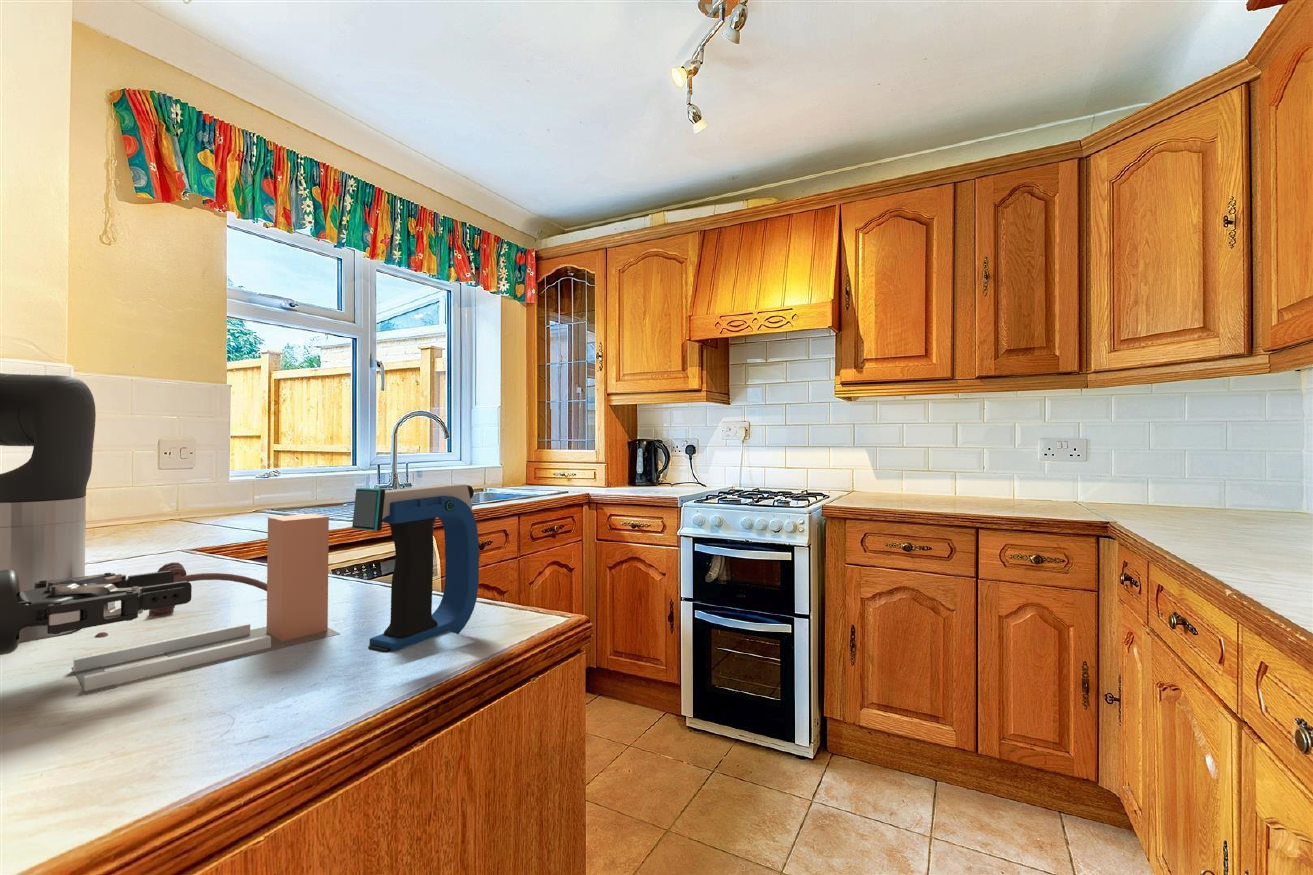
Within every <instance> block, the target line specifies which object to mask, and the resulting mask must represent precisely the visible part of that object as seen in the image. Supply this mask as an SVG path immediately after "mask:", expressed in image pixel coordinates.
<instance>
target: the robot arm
mask: <svg viewBox="0 0 1313 875" xmlns="http://www.w3.org/2000/svg"><path fill="white" fill-rule="evenodd" d="M96 417H97V415H96V403H95V399H94V395H93V394H92V391H91V388H89V386H88V385H87V384H86V382H84V381H83V380H81V379H79V378H77V377H75V376H71V375H70V376H68V375H58V374H57V375H56V374H53V375H52V374H50V375H49V374H18V373H17V374H15V373H1V372H0V446H1V447H2V446H3V447H32V448H33V449H32V453H31V456H30V458H29V460H27V462H25V463H24V464H22V465H20V466H18V467H16V468H14V469H12V470H8V471H7V472H3V473H0V656H3V655H8V654H11V653H13V652H15V651H16V650H17V648H18V646H19V643H26V642H33V641H38V640H44V639H49V638H52V637H58V636H61V635H65V634H69V633H71V632H74V631H78V630H82V629H86V628H87V629H88V628H94V627H99V626H103V625H110V624H114V623H120V622H125V621H126V622H129V621H133V620H135V619H138V618H139V615H140V614H142V613H143V614H144V611H149V610H150V609H156V608H162V607H168V606H174V605H175V606H179V605H184V604H188V603H190V601H191V600H192V584H191V583H192V582H191V583H190V582H187V581H181V582H174V574H173V573H172V572H170V571H162V572H158V571H154V572H147V573H141V574H140V573H139V574H133V575H132V574H131V575H128V576H127V574H122V573H117V574H116V573H114V572H104V573H103V574H102V573H101V574H93V575H86V526H87V525H86V523H87V522H86V521H87V519H86V506H87V505H86V503H87V502H86V500H87V485H88V483H89V479H90V477H91V474H92V467H93V453H94V452H93V451H94V441H95V440H94V439H95V433H96V432H95V430H96V429H95V428H96ZM119 601H120V608H117V607H116V605H115V604H116V603H115V602H119Z"/></svg>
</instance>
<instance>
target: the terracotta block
mask: <svg viewBox="0 0 1313 875" xmlns="http://www.w3.org/2000/svg"><path fill="white" fill-rule="evenodd" d="M329 519H330V516H327V515H323V514H316V513H305V514H293V515H279V516H268V517H267V551H266V552H267V556H266V557H267V558H266V559H267V561H266V564H267V566H266V567H267V568H266V571H267V573H266V575H267V576H266V579H267V580H266V584H267V591H266V627H267V633H269V634H270V635H272V636H274V637H275V638H277V639H279V640H280V641H285V640H289V639H293V638H298V637H302V636H306V635H311V634H315V633H319V632H324V631H328V628H329V627H328V625H329V622H328V621H329V618H328V617H329V540H330V539H329V536H330V535H329V532H330V531H329V530H330V529H329V525H330V524H329V522H330V520H329Z"/></svg>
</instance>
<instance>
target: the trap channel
mask: <svg viewBox="0 0 1313 875" xmlns="http://www.w3.org/2000/svg"><path fill="white" fill-rule="evenodd" d="M338 635H341V632H338V631H336V630H334V629H331V628H329V627H328V631H324V632H319V633H315V634H311V635H306V636H302V637H298V638H293V639H289V640H285V641H280V640H279V639H277V638H275V637H274V636H272V635H270V634H269V633H267V626H263V627H258V628H252V629H251V623H249V622H246V623H242V624H237V625H233V626H232V625H231V626H227V627H223V628H218V629H211V630H207V631H202V632H198V633H192V634H188V635H182V636H177V637H173V638H168V639H163V640H158V641H152V642H147V643H143V644H139V645H133V646H128V647H121V648H118V649H113V650H112V649H111V650H107V651H102V652H98V653H93V654H88V655H84V656H83V655H82V656H79V657H73V659H72V660H73V666H72V667H71V669H72V671H73V673H74V674H75V677H76V678H77V680H78V682H79V683H80V685H81V687H82V689H83V691H84V693H85V694H86V696H88V695H93V694H97V693H101V692H105V691H110V690H115V689H117V686H116V685H120V684H123V683H127V682H128V683H129V682H131V681H136V680H140V679H145V678H149V677H153V676H157V675H161V674H165V673H171V672H175V671H179V670H181V671H182V672H188V671H193V670H196V669H200V668H201V669H202V668H205V667H210V666H213V665H217V664H221V663H222V664H223V663H226V662H231V661H234V660H238V659H242V658H247V657H250V656H255V655H258V654H259V655H261V654H264V653H268V652H270V651H271V652H272V651H275V650H276V651H277V650H279V649H284V648H288V647H293V646H297V645H300V644H306V643H309V642H313V641H317V640H322V639H326V638H330V637H333V636H338ZM163 654H164V655H166V656H167V657H164V658H160V659H154V660H150V661H145V662H141V663H137V664H132V665H126V666H123V667H119V668H114V669H113V668H112V669H109V670H105V669H104V667H107V666H113V665H115V664H121V663H126V662H130V661H135V660H139V659H140V660H141V659H144V658H148V657H149V658H150V657H154V656H158V655H163Z"/></svg>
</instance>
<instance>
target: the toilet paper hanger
mask: <svg viewBox="0 0 1313 875" xmlns="http://www.w3.org/2000/svg"><path fill="white" fill-rule="evenodd" d="M162 571H170V572H172V573H173V574H174V582H181V581H187V582H189V583H190V582H197V581H227V582H235V583H241V584H245V585H248V586H253V587H255V588H258V589H261V590H262V591H265V592H267V582H263V581H262V580H261V581H260V580H259V579H256V578H252V577H249V576H244V575H240V574H239V575H238V574H233V573H220V572H219V573H218V572H214V573H213V572H210V573H208V572H207V573H206V572H204V573H203V572H202V573H195V574H187V570H186V569H185V567H184V565H182V564H181V563H179V562H173V561H172V562H169V563H166V564H164V565H162V566H161V567H159V568H158V570H157V572H162ZM175 607H176V605H174V606H168V607H162V608H156V609H150V610H148V615H149V617H161V616H168V615H172V614H173V613H174V611H175ZM108 636H109V634H108V632H106V631H103V632H98V633H97V634H95V635H94V638H96V639H98V638H105V637H108Z"/></svg>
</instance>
